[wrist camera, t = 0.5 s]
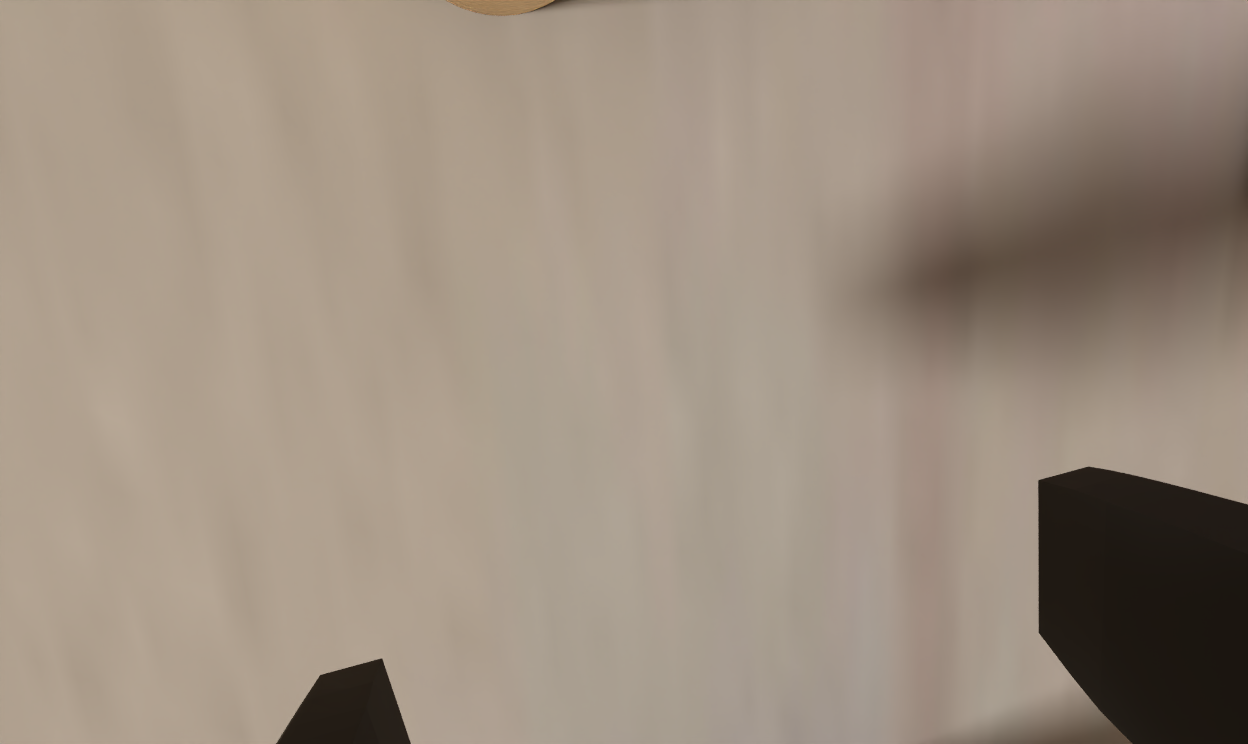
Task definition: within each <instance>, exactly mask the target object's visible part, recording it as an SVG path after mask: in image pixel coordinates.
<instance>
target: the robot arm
mask: <svg viewBox="0 0 1248 744" xmlns="http://www.w3.org/2000/svg"><path fill="white" fill-rule="evenodd" d="M1038 495H1039V634H1040V635H1041V636H1042V637H1043V639H1044V640H1045V641H1046V643H1047V644H1048V645H1049V647H1050V648H1051V649H1052V651H1053V652H1054V653H1055V655H1056V656H1057V657H1058V659H1059V660H1060V661H1061V663H1062V664H1063V665H1064V666H1065V668H1066V669H1067V670H1068V672H1069V673H1070V674H1071V676H1072V677H1073V678H1074V679H1075V681H1076V682H1077V683H1078V684H1079V685H1080V687H1081V688H1082V689H1083V690H1084V692H1085V693H1086V694H1087V695H1088V696H1089V698H1090V699H1091V700H1092V701H1093V703H1094V704H1095V705H1096V706H1097V707H1098V709H1099V710H1100V711H1101V712H1102V713H1103V714H1104V715H1105V716H1106V717H1107V718H1108V719H1109V720H1110V721H1111V722H1112V723H1113V724H1114V725H1115V726H1116V727H1117V728H1118V729H1119V730H1120V731H1121V732H1122V733H1123V734H1124V735H1125V736H1126V737H1127V738H1128V739H1129V740H1130V741H1131V742H1132V743H1133V744H1248V505H1247V504H1244V503H1240V502H1236V501H1232V500H1229V499H1225V498H1221V497H1217V496H1213V495H1210V494H1206V493H1202V492H1198V491H1195V490H1191V489H1187V488H1183V487H1179V486H1175V485H1171V484H1167V483H1163V482H1159V481H1155V480H1151V479H1147V478H1143V477H1138V476H1134V475H1130V474H1125V473H1120V472H1116V471H1111V470H1105V469H1099V468H1094V467H1085V468H1082V469H1078V470H1074V471H1071V472H1067V473H1063V474H1060V475H1056V476H1052V477H1049V478H1045V479H1041V480H1038ZM276 744H411V743H410V740H409V737H408V734H407V731H406V728H405V725H404V722H403V719H402V716H401V713H400V710H399V707H398V704H397V701H396V698H395V695H394V692H393V689H392V687H391V684H390V681H389V678H388V675H387V672H386V669H385V666H384V663H383V660H382V659H378V660H374V661H371V662H367V663H363V664H360V665H356V666H352V667H349V668H345V669H341V670H337V671H334V672H330V673H326V674H323V675H320V676H319V678H318V679H317V681H316V683H315V684H314V686H313V687H312V689H311V690H310V692H309V693H308V695H307V696H306V698H305V699H304V701H303V702H302V704H301V705H300V707H299V708H298V710H297V712H296V713H295V715H294V716H293V718H292V719H291V721H290V723H289V724H288V726H287V727H286V729H285V731H284V732H283V734H282V735H281V737H280V739H279V740H278V742H277V743H276Z"/></svg>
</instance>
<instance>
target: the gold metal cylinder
mask: <svg viewBox="0 0 1248 744" xmlns="http://www.w3.org/2000/svg"><path fill="white" fill-rule="evenodd" d="M446 1H448V2H450V3H452V4H454V5H456V6H458V7H461V8H463V9H466V10H469V11H472V12H476V13H481V14H486V15H498V16H507V15H517V14H522V13H526V12H530V11H533V10H536V9H538V8H541V7H543V6H546V5H547V4H549V3H551V2H552V1H554V0H446Z"/></svg>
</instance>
